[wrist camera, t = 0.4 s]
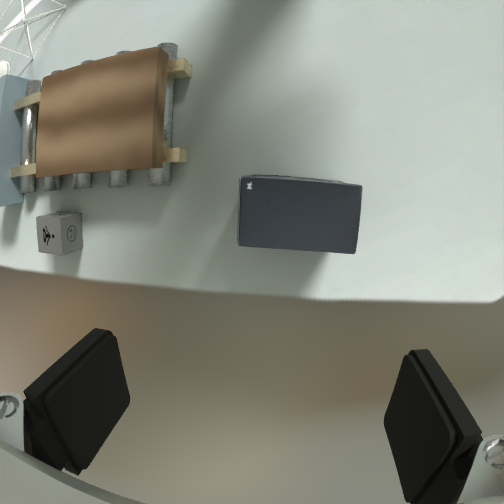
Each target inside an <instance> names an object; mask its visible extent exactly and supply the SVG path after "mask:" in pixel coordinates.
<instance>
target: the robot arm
mask: <svg viewBox="0 0 504 504" xmlns="http://www.w3.org/2000/svg"><path fill="white" fill-rule="evenodd" d="M24 394H25V396H26V399H25V400H24V401H23V400H22V398H21V397H20V396H19V395H17V394H15V393H11V392H5V393H1V394H0V504H145V503H141V502H138V501H135V500H132V499H128V498H126V497H123V496H120V495H117V494H114V493H111V492H109V491H106V490H103V489H100V488H98V487H96V486H93V485H90V484H88V483H86V482H84V481H81V480H79V479H77V478H75V477H72V476H70V475H68V474H66V473H64V472H62V471H61V470H62V469H63V468H65V469H66V470H67V471H69V472H71V473H74V474H76V475H79V474H80V473H81V471H82V470H83V469H87V468H88V466H89V465H90V463H91V462H92V460H93V459H94V457H95V456H96V454H97V453H98V451H99V449H100V447H101V446H102V445H103V443H104V442H105V440H106V439H107V437H108V436H109V434H110V433H111V431H112V429H113V428H114V427H115V425H116V424H117V422H118V420H119V419H120V418H121V416H122V415H123V413H124V412H125V410H126V408H127V407H128V405H129V403H130V395H129V391H128V387H127V383H126V379H125V375H124V370H123V366H122V362H121V357H120V352H119V348H118V343H117V338H116V337H115V336H113V334H112V332H111V331H109V330H104V329H98V328H95V329H93V330H92V331H91V332H90V333H89V334H87V335H86V336H85V337H84V338H83V339H82V340H80V341H79V342H78V343H77V344H76V345H75V346H73V347H72V348H71V349H70V350H69V351H68V352H66V353H65V354H64V355H63V356H62V357H61V358H60V359H58V361H56V362H55V363H54V364H53V365H52V366H51V367H49V368H48V369H47V370H46V371H45V372H44V373H43V374H42V375H41V376H40V377H38V378H37V379H36V380H35V381H34V382H33V383H32V384H31V385H30V386H29V387H27V388H26V389H25V390H24ZM384 427H385V430H386V433H387V437H388V440H389V443H390V447H391V450H392V453H393V457H394V460H395V464H396V468H397V471H398V475H399V479H400V483H401V486H402V490H403V494H404V498H405V501H406V502H407V503H409V502H410V504H504V436H500V435H494V436H490V437H487V438H485V439H484V440H483V439H482V437H481V433H482V431H481V430H480V428H479V426H478V425H477V423H476V421H475V420H474V418H473V416H472V415H471V413H470V412H469V410H468V408H467V407H466V405H465V403H464V402H463V400H462V399H461V397H460V396H459V394H458V393H457V391H456V389H455V388H454V387H453V385H452V383H451V382H450V381H449V379H448V378H447V376H446V374H445V373H444V371H443V370H442V369H441V367H440V366H439V364H438V363H437V361H436V360H435V358H434V357H433V355H432V354H431V353H430V351H429V350H427V349H421V350H411V351H410V352H409V354H408V355H405V356H404V358H403V361H402V365H401V368H400V371H399V374H398V378H397V381H396V384H395V387H394V390H393V393H392V396H391V399H390V402H389V405H388V408H387V411H386V413H385V417H384Z"/></svg>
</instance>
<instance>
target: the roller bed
mask: <svg viewBox="0 0 504 504" xmlns="http://www.w3.org/2000/svg"><path fill="white" fill-rule="evenodd" d="M159 46H160V47H161V48H162V49H163V50H164V51H165V52H166V53H167V54H168V55H169V61H168V71H167V83H166V96H165V112H164V132H163V167H162V168H152V169H149V186H160V185H170V165H171V163H182V162H187V156H188V149H184V148H180V147H177V148H171V131H172V111H173V94H174V81H175V79H178V78H188V77H191V73H192V65H191V64H190V63H189V62H188V61H187V60H186V59H185V58H181V59H176V57H177V47H178V46H177V45H176V44H174V43H161V44H159V45H158V46H157V47H159ZM128 52H132V51H121V52H118V53H117V54H116V55H119V54H123V53H128ZM92 61H94V60H88V61H84V62H82V63H81V65H82V64H85V63H89V62H92ZM60 71H63V70H58V71H54V72H52V74H55V73H57V72H60ZM52 74H51V75H52ZM40 88H41V81H39V80H32V81H28V82H27V86H26V93H25V97H24V98H21V99H19V100H17V101H15V104H14V111H22V112H23V118H22V130H21V148H20V166H16V167H11V168H10V178H12V177H20V193H29V192H35V174H36V163H35V139H36V124H37V113H38V108H39V104H40V96H41V91H40ZM120 186H127V170H116V171H108V187H120ZM81 188H91V172H90V173H79V174H73V189H81ZM52 190H60V175H59V176H51V177H44V191H52Z"/></svg>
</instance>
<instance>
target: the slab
mask: <svg viewBox="0 0 504 504" xmlns="http://www.w3.org/2000/svg"><path fill="white" fill-rule="evenodd" d="M168 61H169V55H168V54H167V53H166V52H165V51H164V50H163V49H162V48H161V47H160V46H159V47H153V48H147V49H142V50H137V51H132V52H128V53H123V54H119V55H115V56H111V57H107V58H103V59H99V60H96V61H92V62H89V63H85V64H82V65H79V66H75V67H72V68H69V69H66V70H63V71H60V72H57V73H55V74H52V75H49V76H46V77H44V78H43V82H42V89H41V96H40V104H39V114H38V126H37V142H36V178H39V177H51V176H59V175H69V174H79V173H90V172H102V171H116V170H132V169H152V168H162V167H163V132H164V112H165V96H166V83H167V71H168Z"/></svg>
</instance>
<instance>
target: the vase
mask: <svg viewBox="0 0 504 504" xmlns="http://www.w3.org/2000/svg"><path fill="white" fill-rule="evenodd" d="M9 73H10V65H9V63H8V62H7V61H0V77H2V76H4V75H6V74H8V75H9Z"/></svg>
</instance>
